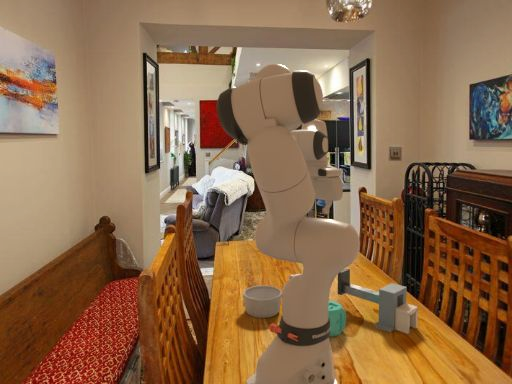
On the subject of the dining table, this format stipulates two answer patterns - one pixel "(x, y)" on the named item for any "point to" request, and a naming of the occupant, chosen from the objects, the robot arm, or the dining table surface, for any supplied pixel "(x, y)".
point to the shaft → (355, 288)
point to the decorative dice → (336, 318)
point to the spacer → (406, 317)
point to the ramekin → (262, 301)
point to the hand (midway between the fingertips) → (314, 212)
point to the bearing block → (390, 305)
